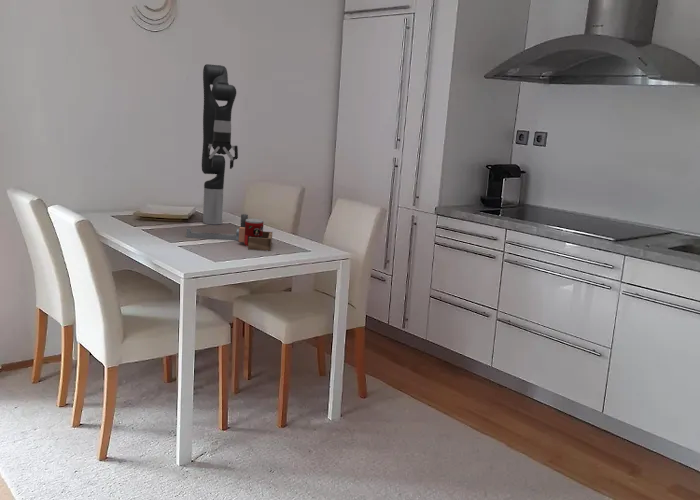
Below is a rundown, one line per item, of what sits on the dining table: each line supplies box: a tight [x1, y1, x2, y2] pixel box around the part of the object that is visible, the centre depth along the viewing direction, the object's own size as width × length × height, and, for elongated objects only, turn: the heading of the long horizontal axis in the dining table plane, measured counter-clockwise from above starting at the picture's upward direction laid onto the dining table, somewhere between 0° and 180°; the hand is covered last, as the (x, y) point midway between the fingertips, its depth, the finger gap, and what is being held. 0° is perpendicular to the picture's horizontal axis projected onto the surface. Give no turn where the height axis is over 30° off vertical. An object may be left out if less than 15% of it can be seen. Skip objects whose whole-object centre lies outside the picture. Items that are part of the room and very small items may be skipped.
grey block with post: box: [235, 213, 249, 243], centre depth 289 cm, size 13×6×11 cm, turn 4°
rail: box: [185, 227, 239, 242], centre depth 292 cm, size 3×30×4 cm, turn 94°
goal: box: [247, 230, 273, 252], centre depth 284 cm, size 15×9×5 cm, turn 4°
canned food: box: [243, 218, 264, 247], centre depth 284 cm, size 8×8×11 cm
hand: (221, 168), depth 295 cm, fingers open, 8 cm apart
